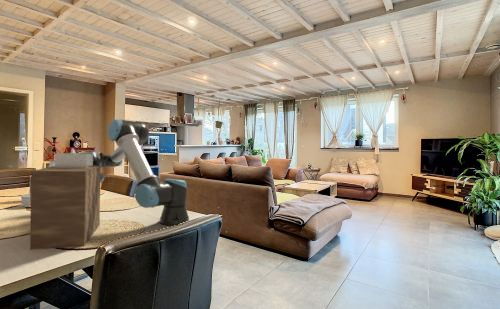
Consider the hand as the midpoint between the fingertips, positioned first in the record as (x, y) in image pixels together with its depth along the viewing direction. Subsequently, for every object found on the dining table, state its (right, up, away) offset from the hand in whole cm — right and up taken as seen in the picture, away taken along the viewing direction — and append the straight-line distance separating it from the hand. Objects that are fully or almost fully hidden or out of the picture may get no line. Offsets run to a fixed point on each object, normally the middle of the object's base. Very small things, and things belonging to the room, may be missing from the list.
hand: (84, 150), depth 139 cm
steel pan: (+2, -7, -6) cm, 10 cm away
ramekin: (-50, -35, +30) cm, 68 cm away
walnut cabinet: (+6, -38, -20) cm, 43 cm away
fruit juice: (-54, -34, +51) cm, 82 cm away
